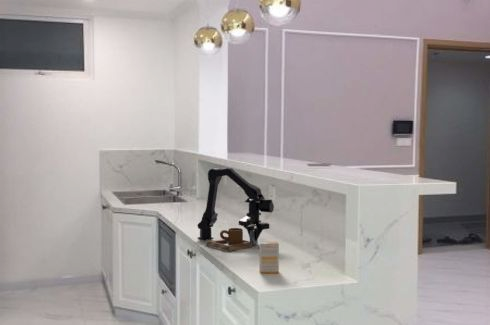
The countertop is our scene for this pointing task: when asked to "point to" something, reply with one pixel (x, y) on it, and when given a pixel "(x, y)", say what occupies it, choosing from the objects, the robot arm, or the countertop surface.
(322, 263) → the countertop surface
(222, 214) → the countertop surface
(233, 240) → the mug
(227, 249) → the brown frame with handle
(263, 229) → the robot arm
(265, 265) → the supplement box
